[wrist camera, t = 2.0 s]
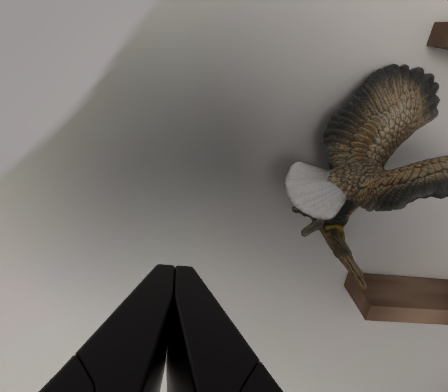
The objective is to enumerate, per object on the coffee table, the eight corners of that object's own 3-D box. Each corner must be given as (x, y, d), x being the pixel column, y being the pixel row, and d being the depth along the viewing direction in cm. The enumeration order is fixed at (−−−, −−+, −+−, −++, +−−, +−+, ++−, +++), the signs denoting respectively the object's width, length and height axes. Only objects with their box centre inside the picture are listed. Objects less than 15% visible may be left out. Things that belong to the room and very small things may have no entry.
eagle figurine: (368, 266, 21) (527, 162, 17) (354, 320, 14) (602, 174, 11) (283, 165, 22) (413, 49, 18) (236, 174, 16) (419, 0, 12)
